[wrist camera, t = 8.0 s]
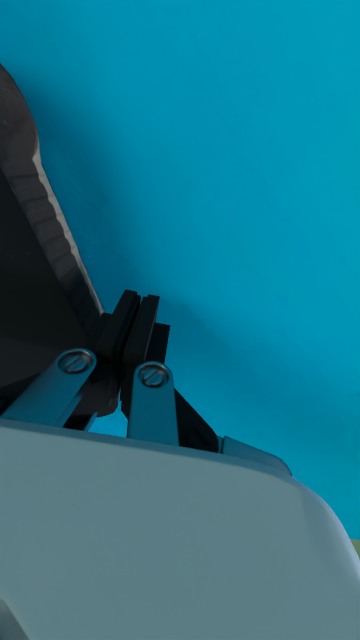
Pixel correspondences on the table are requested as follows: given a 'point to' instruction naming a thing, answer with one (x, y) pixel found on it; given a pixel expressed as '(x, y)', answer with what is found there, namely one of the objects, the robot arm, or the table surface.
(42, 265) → the black sponge
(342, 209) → the table surface
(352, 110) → the table surface
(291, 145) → the table surface
